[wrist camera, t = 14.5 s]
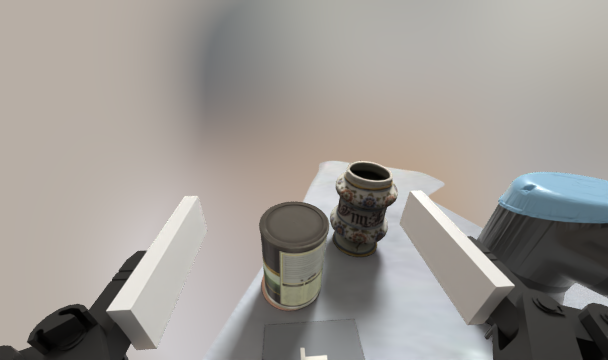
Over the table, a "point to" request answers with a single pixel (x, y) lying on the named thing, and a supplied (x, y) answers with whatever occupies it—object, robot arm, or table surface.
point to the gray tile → (313, 341)
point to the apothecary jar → (362, 207)
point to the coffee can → (293, 253)
